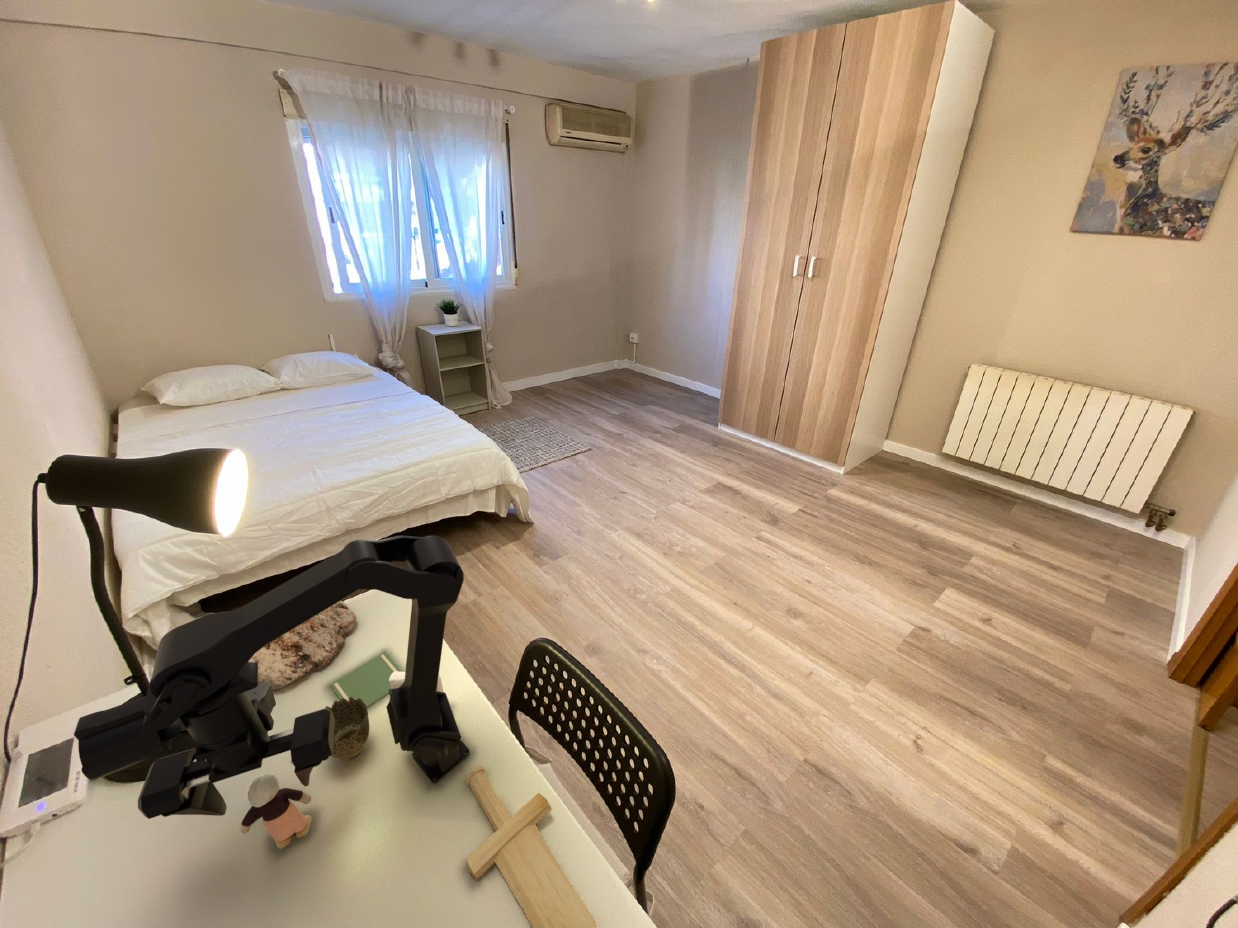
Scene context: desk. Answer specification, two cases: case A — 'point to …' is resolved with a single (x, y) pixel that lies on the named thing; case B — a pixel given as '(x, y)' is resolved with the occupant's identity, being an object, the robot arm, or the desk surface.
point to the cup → (349, 727)
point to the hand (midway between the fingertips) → (266, 796)
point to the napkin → (367, 680)
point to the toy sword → (526, 860)
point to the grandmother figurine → (276, 810)
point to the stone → (304, 647)
